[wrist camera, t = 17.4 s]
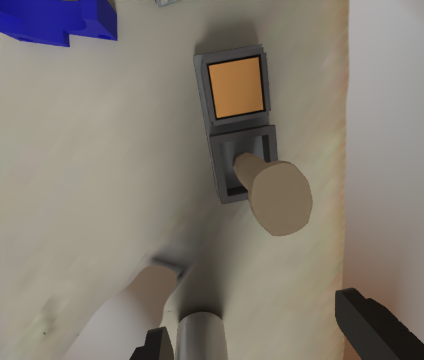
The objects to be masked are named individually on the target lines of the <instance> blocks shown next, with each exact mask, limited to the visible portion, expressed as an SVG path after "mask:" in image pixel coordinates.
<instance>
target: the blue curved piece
mask: <svg viewBox="0 0 424 360" xmlns="http://www.w3.org/2000/svg"><path fill="white" fill-rule="evenodd" d="M0 32H1V33H4V34H6V35H8V36H10V37H13V38H15V39H17V40H19V41H26V42H34V43H41V44H49V45H56V46H64V47H70V43H69V34H72V35H79V36H86V37H93V38H101V39H108V40H115V41H117V13H116V12H115V11H114V9H113V8H112V7H111V5H110V4H109V3H108V1H107V0H78V1H61V0H0Z"/></svg>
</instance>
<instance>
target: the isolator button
mask: <svg viewBox="0 0 424 360" xmlns="http://www.w3.org/2000/svg"><path fill="white" fill-rule="evenodd" d="M208 73H209V79H210V86H211V92H212V98H213V104H214V110H215V117H216V118H220V117H225V116H230V115H236V114H241V113H247V112H252V111H258V110H263V102H262V91H261V80H260V69H259V59H258V57H256V58H251V59H245V60H239V61H234V62H228V63H222V64H217V65H211V66H209V68H208Z"/></svg>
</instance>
